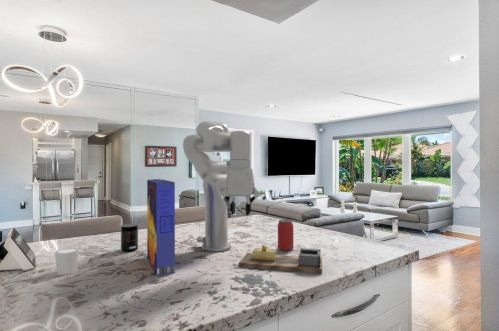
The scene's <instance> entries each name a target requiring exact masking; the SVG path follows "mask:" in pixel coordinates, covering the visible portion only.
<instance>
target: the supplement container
mask: <svg viewBox="0 0 499 331" xmlns="http://www.w3.org/2000/svg"><path fill="white" fill-rule="evenodd" d="M138 249H139V224H138V223H125V224H122V225H120V250H121V252H123V253H133V252H136V251H138Z"/></svg>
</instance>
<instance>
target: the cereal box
mask: <svg viewBox="0 0 499 331" xmlns="http://www.w3.org/2000/svg"><path fill="white" fill-rule="evenodd" d="M175 183H176V182H175V181H170V180H166V179H160V178H158V179H157V178H156V179H155V178H154V179H153V178H152V179H147V180H146V186H147V187H146V191H147V194H146V195H147V196H146V197H147V198H146V201H147V203H146V208H147V210H146V212H147V214H146V215H147V218H146V222H147V223H146V224H147V226H146V228H147V230H146V231H147V232H146V234H147V235H146V237H147V238H146V240H147V242H146V243H147V244H146V245H147V259H148V261H149V264H150V266H151V268H152V270H153V273H154V275H155V276H156V277H158V276H164V275H171V274H175V273H176V218H175V217H176V216H175V215H176V206H175V205H176V202H175V201H176V199H175V198H176V195H175V194H176V193H175V192H176V191H175V190H176V184H175Z"/></svg>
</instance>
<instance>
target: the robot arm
mask: <svg viewBox="0 0 499 331" xmlns="http://www.w3.org/2000/svg"><path fill="white" fill-rule="evenodd" d="M195 130H196V134H190V135H187V136H185V138H183V142H182V147H183V148H182V149H183V153H184V154H185V157H186V159H187V160H188V162H189V163H191V164H192V165H193V168H194V169H195V171H196V172H197V174H198V176H199V177H200V179H201V180H202V189H203V195H204V196H203V197H204V208H205V209H204V211H205V212H204V218H205V220H204V223H205V224H204V226H205V227H204V234H205V235H204V237H203V236H197V238H196V242H197V243H202V244H201V249H202V250H204V251H206V252H223V251H228V250H230V249H231V248H232V244H231V243H230V242H228V239H229V238H228V236H229V235H228V234H229V233H228V231H229V230H228V204H229V212H230V215H232V216H233V215H235V214H236V203H235V199H236V197H245V200H246V204H245V215H246V216H249V215H250V214H251V213H252V203H253V202H254V201H255V200H256V199H257V198H258V197H260V196H261V193H260V192H259V191H258V189H257V188H256V186H255V177H254V171H253V168H252V167H251V165H252V164H251V163H252V162H251V160H252V159H251V158H252V157H251V155H252V154H251V150H252V149H251V133H250V132H249V131H247V130H234V131H231V132H229V129H228V126H227V124H225V123H223V122H220V121H219V122H217V121H202V122H199V124H197V126H196V129H195ZM215 152H217V153H218V152H220V153H221V152H224V153H229V161H226V160H225V161H224V160H223V161H222V160H213V159H211V157H210V156H209V155H208V154H207V153H215ZM252 195H253V196H252ZM225 200H226V201H227V202H228V204H227V203H226V201H225Z"/></svg>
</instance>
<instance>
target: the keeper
mask: <svg viewBox="0 0 499 331" xmlns="http://www.w3.org/2000/svg"><path fill="white" fill-rule="evenodd" d="M321 251H322V250H321V249H319V248H305V247H304V248H303V247H300V249H299V252H300V253H298V256H299V266H309V267H320V262H321V258H322V257H321V256H322V255H321V253H322V252H321Z"/></svg>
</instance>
